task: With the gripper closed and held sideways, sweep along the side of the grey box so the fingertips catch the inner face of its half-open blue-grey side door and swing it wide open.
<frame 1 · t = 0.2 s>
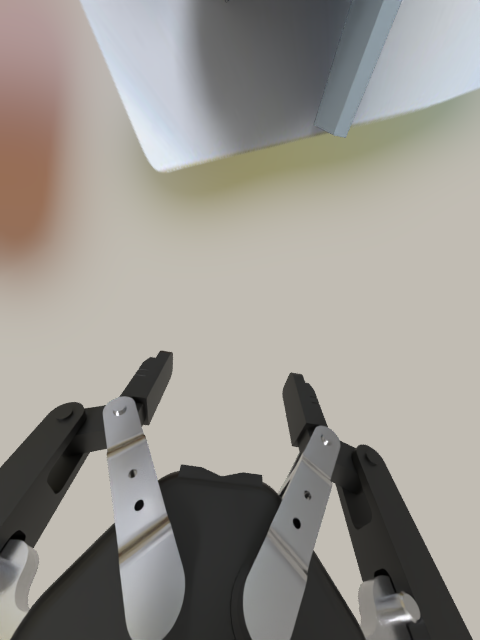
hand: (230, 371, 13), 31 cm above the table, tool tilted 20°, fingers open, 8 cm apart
side door: (371, 17, 16), point 6 cm above the table, hinge at 60.0°
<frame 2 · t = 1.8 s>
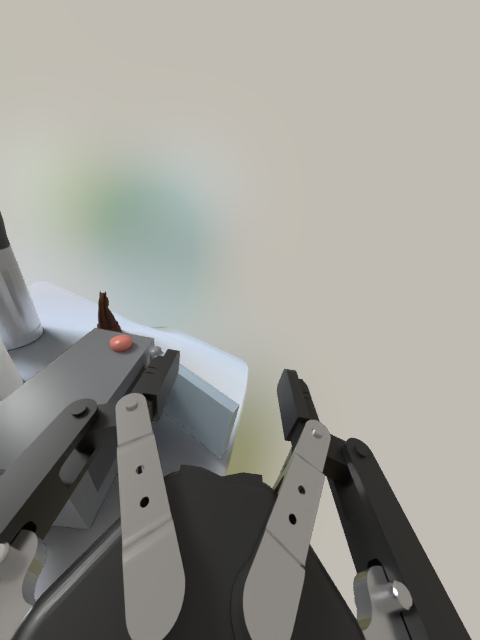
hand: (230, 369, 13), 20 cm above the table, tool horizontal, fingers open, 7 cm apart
chess piece: (109, 335, 43), on the table
grey box: (101, 439, 26), on the table
side door: (189, 400, 26), point 6 cm above the table, hinge at 60.0°
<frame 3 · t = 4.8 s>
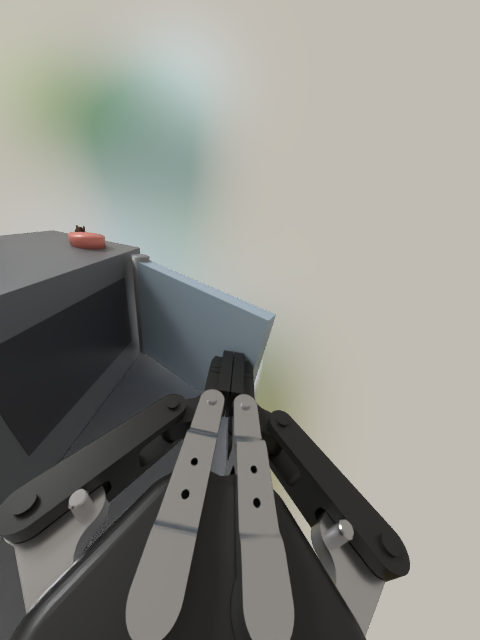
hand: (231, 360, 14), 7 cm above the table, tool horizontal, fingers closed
grey box: (59, 392, 17), on the table
side door: (191, 333, 17), point 7 cm above the table, hinge at 60.0°, touching gripper
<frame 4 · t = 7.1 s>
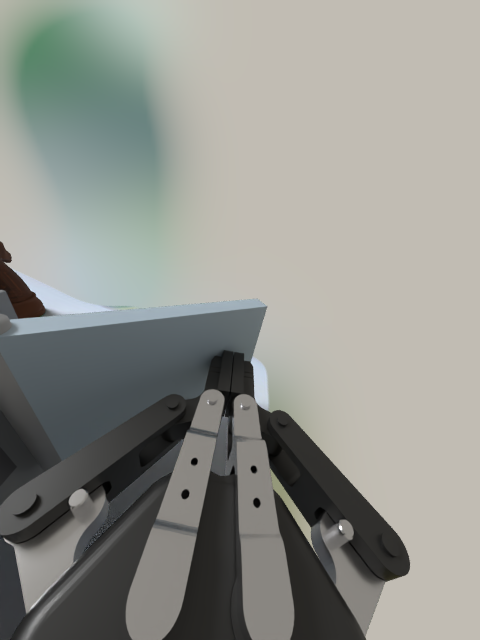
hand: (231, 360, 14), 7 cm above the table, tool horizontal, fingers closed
chess piece: (20, 316, 25), on the table
side door: (161, 373, 13), point 7 cm above the table, hinge at 122.2°, touching gripper
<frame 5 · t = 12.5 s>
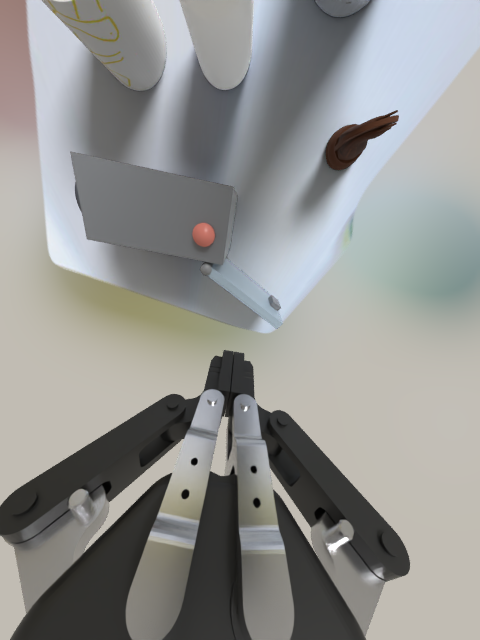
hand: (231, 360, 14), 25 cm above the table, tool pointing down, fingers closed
chess piece: (339, 151, 27), on the table
grey box: (185, 214, 32), on the table
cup: (133, 42, 23), on the table
side door: (245, 284, 30), point 6 cm above the table, hinge at 151.0°
can: (224, 54, 23), on the table
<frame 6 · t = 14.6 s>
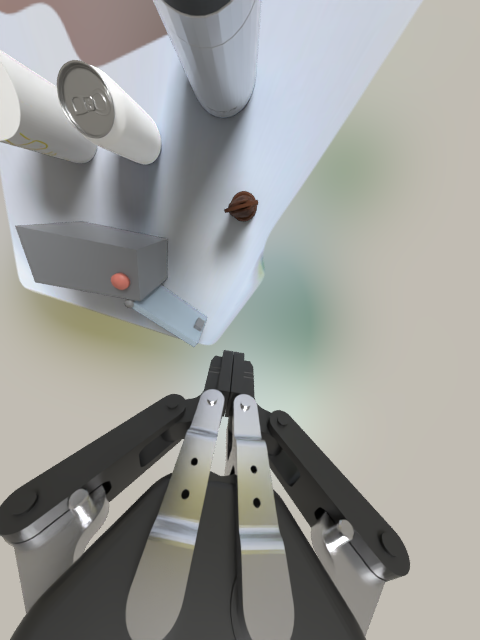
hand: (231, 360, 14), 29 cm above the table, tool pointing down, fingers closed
chess piece: (242, 207, 34), on the table
grey box: (127, 251, 39), on the table
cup: (71, 130, 30), on the table
side door: (173, 310, 38), point 6 cm above the table, hinge at 151.0°
can: (142, 139, 30), on the table
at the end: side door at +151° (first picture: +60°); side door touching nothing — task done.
